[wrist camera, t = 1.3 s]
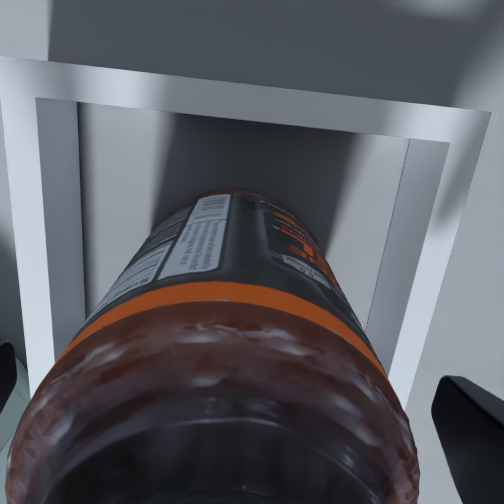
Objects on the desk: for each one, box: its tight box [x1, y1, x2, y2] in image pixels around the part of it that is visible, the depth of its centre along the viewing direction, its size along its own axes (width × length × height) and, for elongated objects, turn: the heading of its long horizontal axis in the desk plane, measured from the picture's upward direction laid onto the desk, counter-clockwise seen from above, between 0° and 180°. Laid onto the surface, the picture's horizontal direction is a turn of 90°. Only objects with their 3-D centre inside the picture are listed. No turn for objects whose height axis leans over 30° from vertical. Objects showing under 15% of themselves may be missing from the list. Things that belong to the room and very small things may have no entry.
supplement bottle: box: [5, 190, 420, 504], centre depth 9 cm, size 6×6×11 cm
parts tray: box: [0, 56, 492, 411], centre depth 13 cm, size 12×12×2 cm
